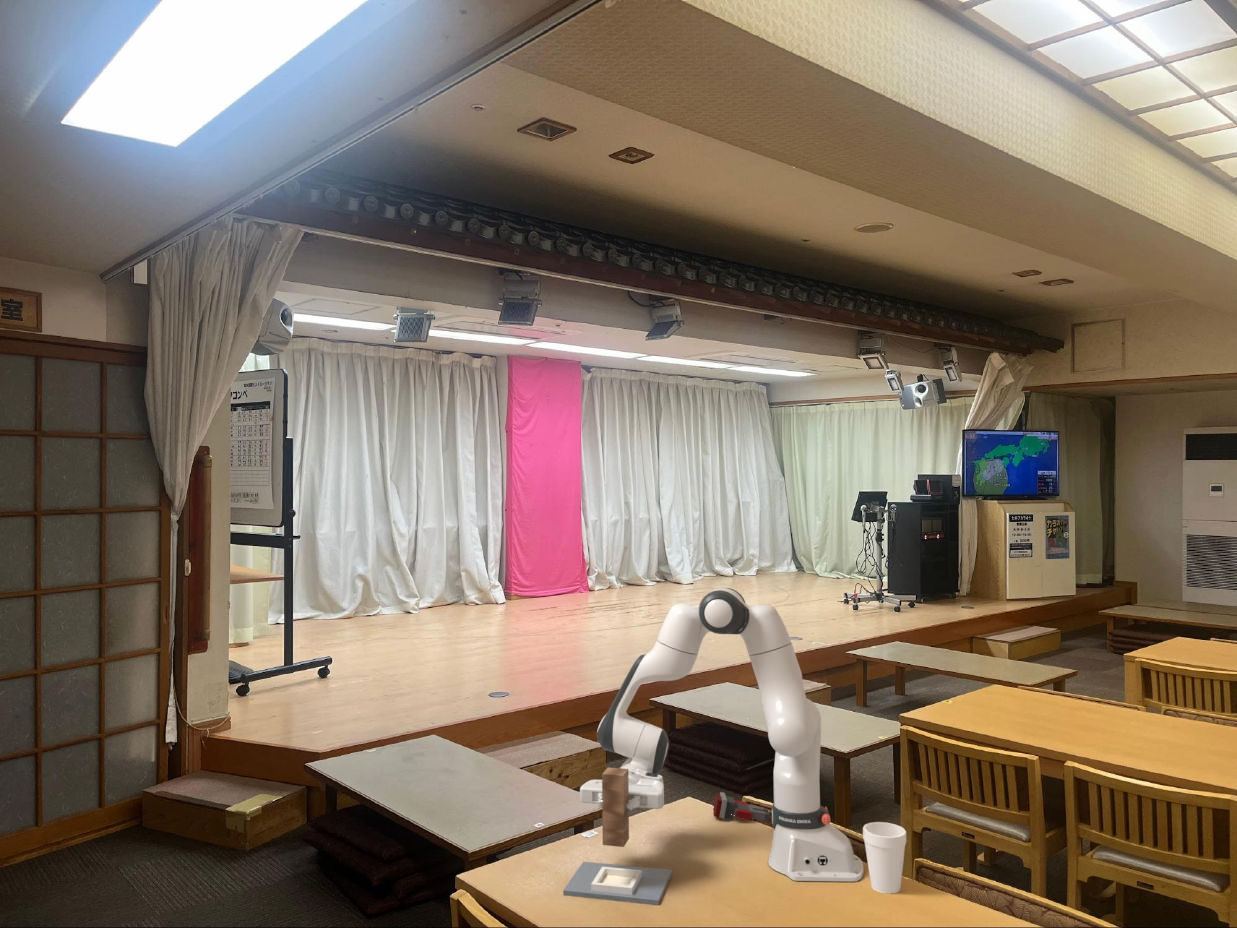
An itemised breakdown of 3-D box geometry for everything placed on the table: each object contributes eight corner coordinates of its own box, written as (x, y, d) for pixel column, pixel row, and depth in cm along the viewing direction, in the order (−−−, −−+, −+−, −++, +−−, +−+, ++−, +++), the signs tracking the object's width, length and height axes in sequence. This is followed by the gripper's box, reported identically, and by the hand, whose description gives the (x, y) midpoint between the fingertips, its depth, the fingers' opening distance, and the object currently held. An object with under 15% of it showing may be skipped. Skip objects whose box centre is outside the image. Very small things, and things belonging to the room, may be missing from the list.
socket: (641, 876, 200) (641, 870, 200) (632, 894, 191) (631, 888, 191) (602, 872, 203) (602, 866, 203) (591, 890, 193) (591, 883, 194)
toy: (763, 821, 244) (711, 811, 244) (767, 799, 244) (715, 789, 244) (768, 833, 235) (715, 822, 235) (772, 810, 236) (719, 800, 236)
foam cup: (864, 893, 193) (863, 835, 193) (863, 876, 201) (862, 820, 202) (908, 898, 190) (907, 839, 191) (906, 880, 199) (905, 824, 199)
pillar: (628, 838, 199) (628, 768, 200) (623, 846, 194) (623, 775, 195) (608, 836, 200) (607, 767, 201) (602, 844, 196) (602, 774, 196)
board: (671, 874, 204) (671, 869, 204) (658, 904, 188) (658, 900, 188) (583, 865, 209) (583, 861, 209) (563, 894, 194) (563, 890, 194)
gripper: (588, 770, 213) (571, 788, 200) (668, 775, 208) (657, 795, 195) (588, 795, 213) (571, 815, 199) (669, 802, 208) (657, 823, 194)
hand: (614, 805), depth 197 cm, fingers closed on pillar, 5 cm apart
